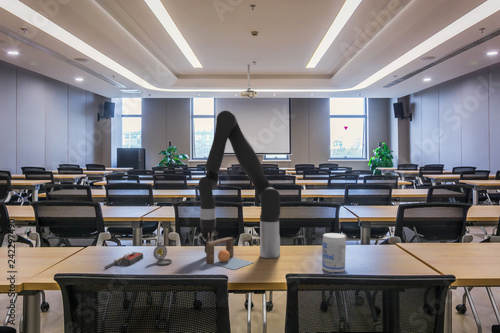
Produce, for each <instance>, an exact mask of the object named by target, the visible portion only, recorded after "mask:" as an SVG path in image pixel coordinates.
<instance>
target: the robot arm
mask: <svg viewBox="0 0 500 333" xmlns="http://www.w3.org/2000/svg"><path fill="white" fill-rule="evenodd" d="M215 120H216V124H215V131H214V137H213V140H212V144H211V145H210V146H211V147H210V150H209V153H208V156H207V160H206V164H205V166H204V167H205V170H206V173H205V176H203V177H201V178H200V179H199V180H198V185H197V186H198V187H197V188H198V192H199V197H200V210H199V222H200V223H199V226H200V232H199V235H196V239H197V240H198V242H199V243H200V244H201V245H202V246H204V253H205V254H206V242H211V241H215V240H218V237H219V234H220V233H219V232H217V230H216V226H217V213H216V212H217V211H216V198H215V197H214V194H213V190H215V189H216V187H217V186H218V183H219V176H220V169H221V166H222V163H223V160H224V157H225V156H224V155H225V151H226V145H227V141H229V143H230V144H231V148H232V150H233V153H234V155H235V158H236V159H237V161H238V163H239V165H240V166H241V169H242V170H243V171H244V173H245V175H246V177H247V178H248V180H250V182H251V183H252V185H253V188H254V189H255V191H256V194H257V196H258V199H259V202H260V203H261V204H260V207H261V208H260V215H259V257H260V258H262V259H276V258H277V259H278V258H279V256H281V236H280V216H281V195H280V192H279V191H278V189H275V188H274V187H273V186H272V185H271V183H270V182H269V180H268V178H267V177H266V174H265V172H264V168H263V166H262V163H261V160H260V159H259V157H258V155H257V153H256V151H255V150H254V148H253V146H252V145H251V144H250V142H249V141H248V139H247V138H246V137H245V135H244V133H243V131H242V130H241V128H240V125H239V123H238V120H237V117H236V115H235V113H233V112H232V111H230V110H226V109H225V110H222V111H220V112H219V113H218V114H217V115H216V119H215Z"/></svg>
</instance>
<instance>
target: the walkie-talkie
mask: <svg viewBox="0 0 500 333" xmlns="http://www.w3.org/2000/svg"><path fill="white" fill-rule="evenodd" d="M143 259H144V253H143V252H137V251H136V252H135V251H132V252H128V253H126V254H124V255H123V256H121V257H118V258H116V259H114V260H113V262H111V263H109V264H107V265H105V266H104V269H108V268H110V267H112V266H114V265H118V266H119V265H120V266H132V265H134V264H136V263H138V262H140V261H141V260H143Z"/></svg>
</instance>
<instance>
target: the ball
mask: <svg viewBox="0 0 500 333" xmlns="http://www.w3.org/2000/svg"><path fill="white" fill-rule="evenodd" d="M229 258H230V254H229V252H228V251H227V250H226V249H222V250H220V251H219V252H218V254H217V259H218V260H219V261H221V262H227V261H228V260H229Z"/></svg>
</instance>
